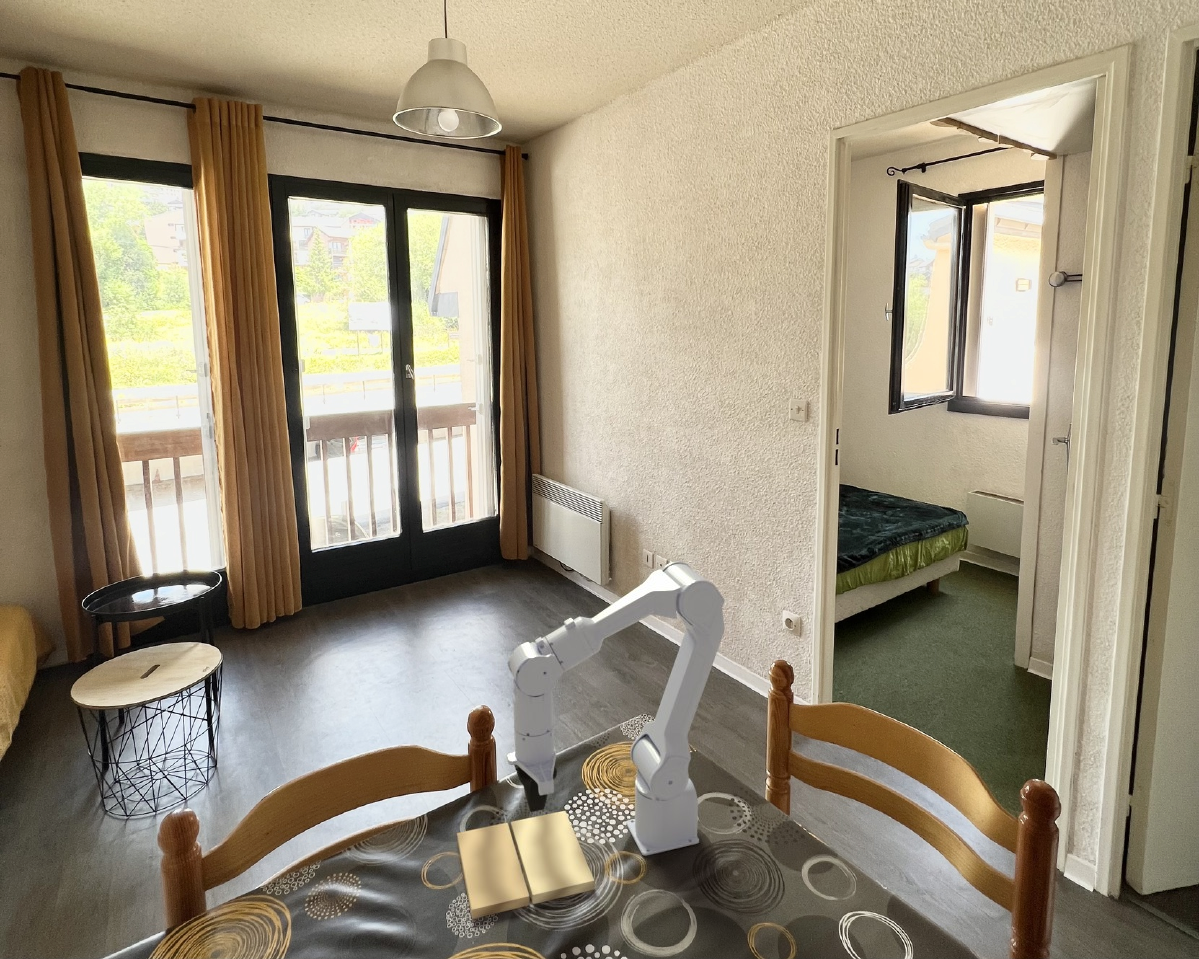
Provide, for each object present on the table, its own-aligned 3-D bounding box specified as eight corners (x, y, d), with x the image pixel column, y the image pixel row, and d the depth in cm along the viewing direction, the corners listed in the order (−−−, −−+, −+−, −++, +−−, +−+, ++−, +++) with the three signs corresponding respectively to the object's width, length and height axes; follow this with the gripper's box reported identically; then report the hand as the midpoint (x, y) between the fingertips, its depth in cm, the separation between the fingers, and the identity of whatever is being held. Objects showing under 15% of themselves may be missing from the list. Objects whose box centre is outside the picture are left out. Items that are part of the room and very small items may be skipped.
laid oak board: (507, 830, 120) (507, 822, 119) (529, 905, 105) (529, 896, 104) (457, 841, 117) (456, 833, 117) (472, 919, 102) (471, 909, 102)
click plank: (565, 818, 122) (565, 810, 122) (594, 889, 107) (594, 880, 107) (510, 830, 120) (510, 821, 119) (533, 904, 105) (532, 895, 104)
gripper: (497, 705, 113) (500, 784, 116) (516, 758, 100) (519, 846, 103) (542, 697, 115) (544, 775, 119) (567, 749, 102) (569, 835, 105)
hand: (536, 807), depth 111 cm, fingers closed
